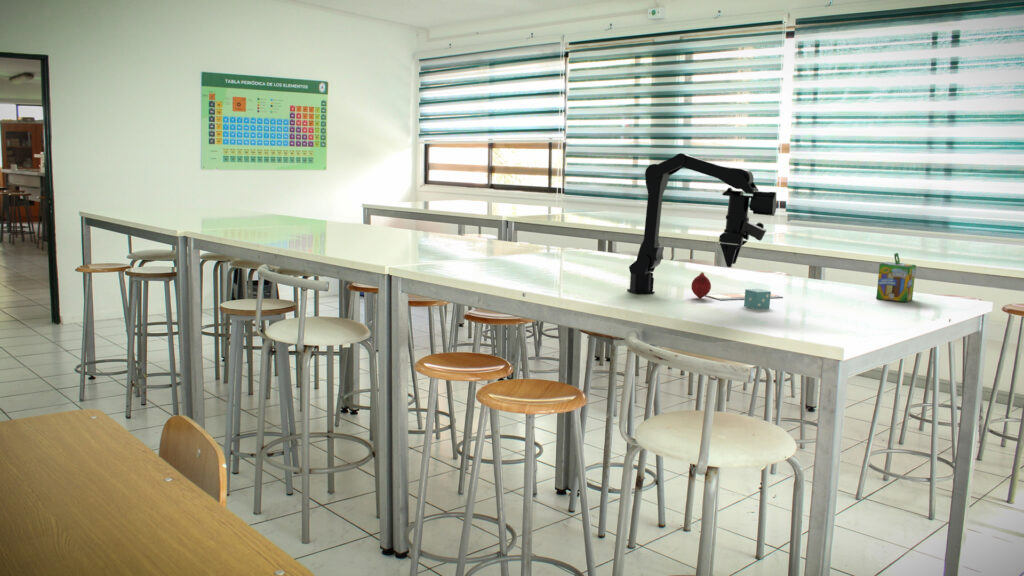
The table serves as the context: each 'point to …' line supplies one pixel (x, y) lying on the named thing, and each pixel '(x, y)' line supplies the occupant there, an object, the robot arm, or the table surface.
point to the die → (757, 298)
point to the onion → (701, 285)
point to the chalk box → (896, 281)
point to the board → (733, 296)
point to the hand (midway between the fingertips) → (731, 265)
